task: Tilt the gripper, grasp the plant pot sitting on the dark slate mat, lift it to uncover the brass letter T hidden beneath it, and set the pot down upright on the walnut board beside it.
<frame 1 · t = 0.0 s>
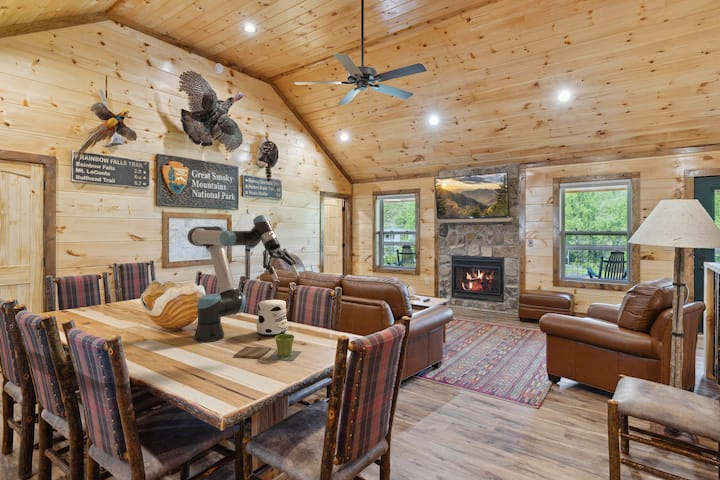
hand: (287, 277, 188), 36 cm above the table, tool tilted 35°, fingers open, 13 cm apart
slate mat: (284, 355, 181), on the table
walnut board: (253, 353, 184), on the table
milk container: (272, 333, 218), on the table
plant pot: (284, 355, 181), resting on slate mat
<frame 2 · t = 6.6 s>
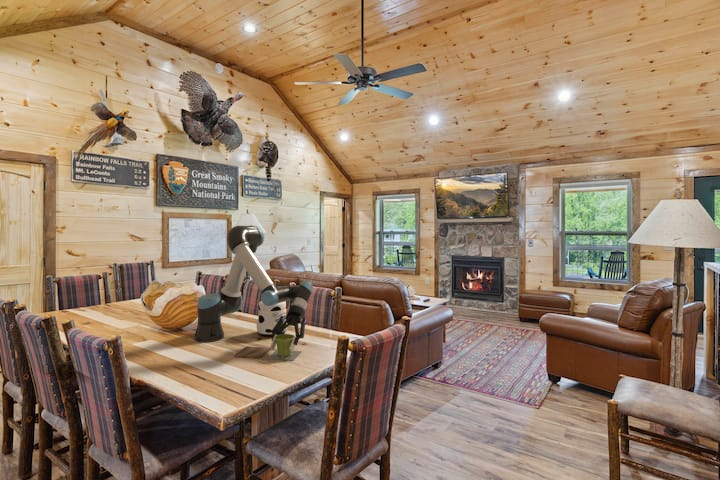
hand: (281, 349, 178), 4 cm above the table, tool tilted 45°, fingers closed on plant pot, 9 cm apart
plant pot: (284, 355, 181), resting on slate mat, touching gripper
everything else where it was.
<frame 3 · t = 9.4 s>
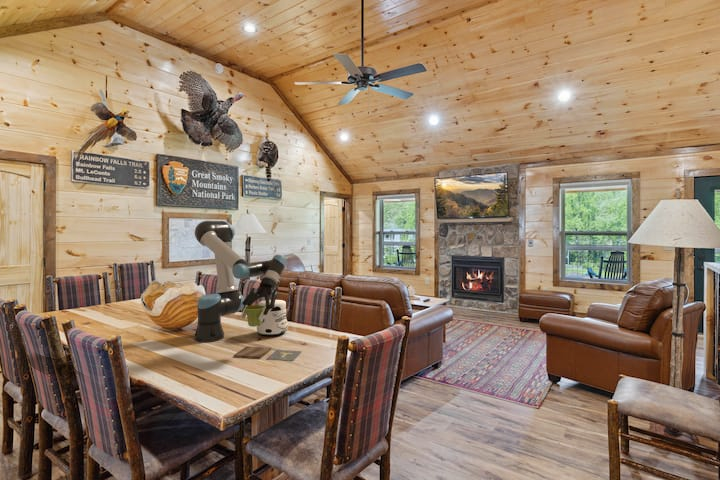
hand: (251, 319, 180), 17 cm above the table, tool tilted 45°, fingers closed on plant pot, 9 cm apart
plant pot: (254, 325, 183), point 14 cm above the table, touching gripper
everything else where it was.
when the fingers open (6 cm above the table, at t = 12.6 s): plant pot drops 2 cm, resting on walnut board.
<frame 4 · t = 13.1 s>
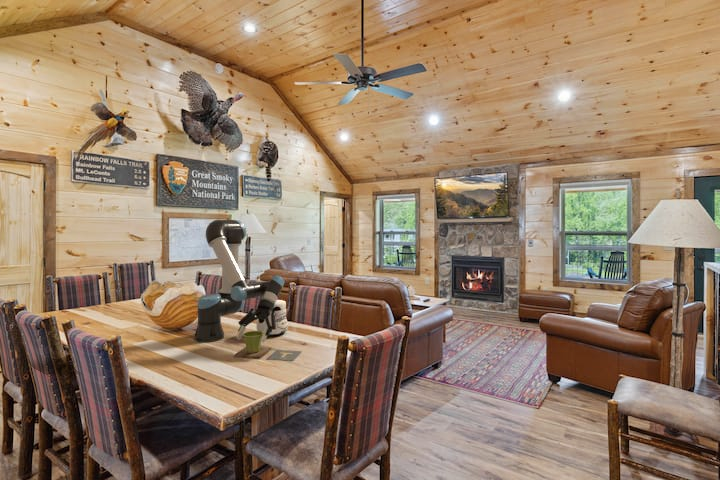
hand: (250, 340, 181), 7 cm above the table, tool tilted 45°, fingers open, 13 cm apart
plant pot: (253, 351, 184), point 1 cm above the table, touching walnut board
everything else where it was.
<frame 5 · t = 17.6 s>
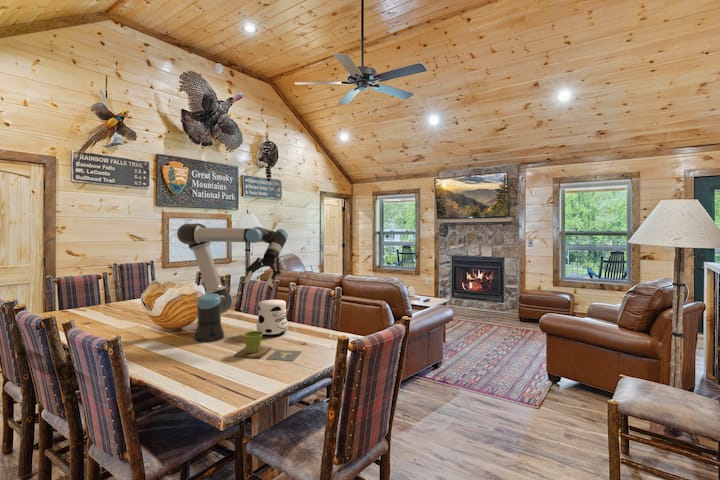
hand: (257, 283, 198), 32 cm above the table, tool tilted 45°, fingers open, 13 cm apart
nothing on the table moved.
at the end: plant pot inside the target area (0.2 cm from its centre), point 0.8 cm above the table; plant pot tilted 0°; plant pot touching walnut board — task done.
